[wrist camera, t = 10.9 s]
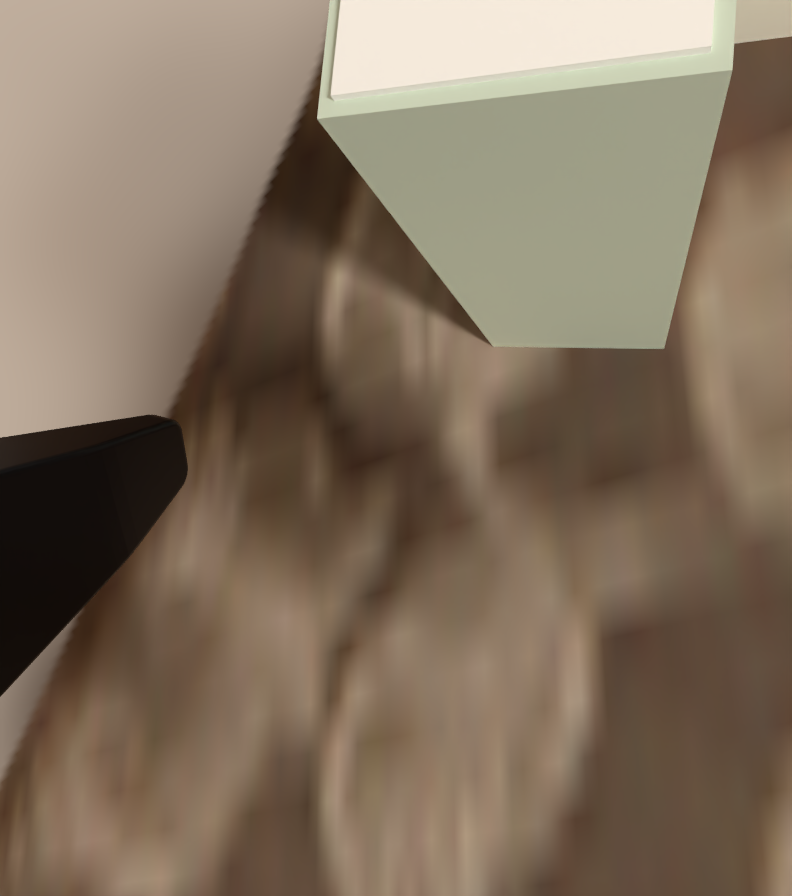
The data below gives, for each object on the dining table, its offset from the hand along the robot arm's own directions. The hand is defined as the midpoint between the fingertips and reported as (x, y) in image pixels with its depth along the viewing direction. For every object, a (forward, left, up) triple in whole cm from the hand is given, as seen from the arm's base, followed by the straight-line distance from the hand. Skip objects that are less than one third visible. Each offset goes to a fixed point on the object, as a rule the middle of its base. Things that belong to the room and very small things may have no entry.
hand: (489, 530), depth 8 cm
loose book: (0, -8, -9) cm, 12 cm away
